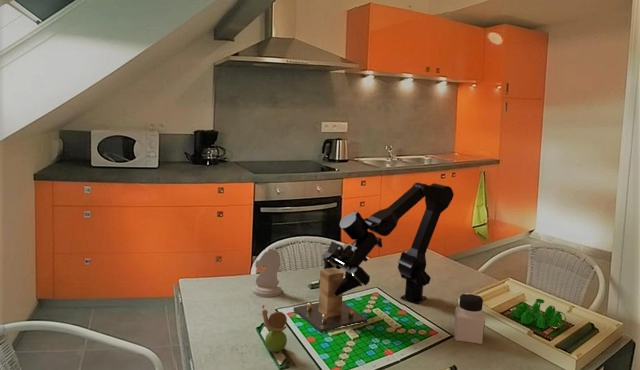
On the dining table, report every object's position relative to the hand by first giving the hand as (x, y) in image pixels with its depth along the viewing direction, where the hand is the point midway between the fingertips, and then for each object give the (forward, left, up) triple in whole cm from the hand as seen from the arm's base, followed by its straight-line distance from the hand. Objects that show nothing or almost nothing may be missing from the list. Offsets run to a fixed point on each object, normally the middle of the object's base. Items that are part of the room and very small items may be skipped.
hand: (327, 289), depth 141 cm
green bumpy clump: (-42, +49, -9) cm, 65 cm away
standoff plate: (-1, +1, -9) cm, 9 cm away
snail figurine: (+25, +3, -9) cm, 26 cm away
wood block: (-1, 0, -8) cm, 8 cm away
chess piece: (-2, -26, -9) cm, 28 cm away
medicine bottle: (-17, +37, -9) cm, 41 cm away
